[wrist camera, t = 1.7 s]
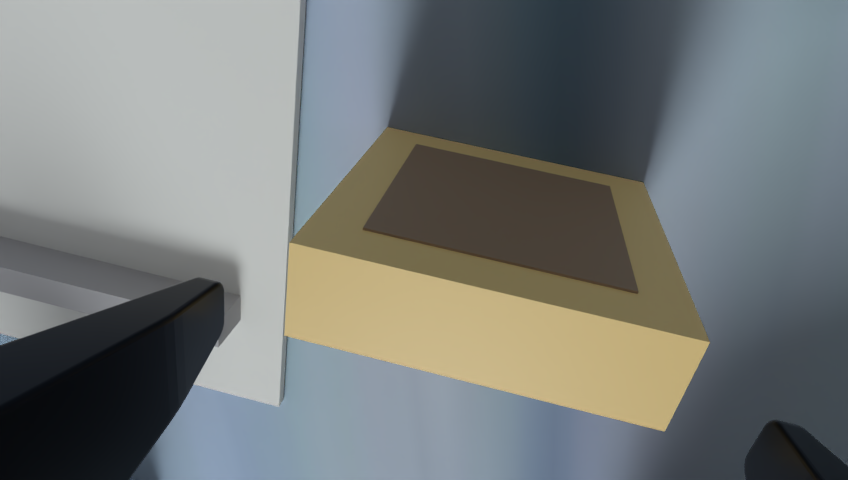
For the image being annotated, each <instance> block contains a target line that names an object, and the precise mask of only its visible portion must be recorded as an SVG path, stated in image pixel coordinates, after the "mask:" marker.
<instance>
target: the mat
mask: <svg viewBox="0 0 848 480" xmlns="http://www.w3.org/2000/svg"><path fill="white" fill-rule="evenodd" d="M305 13H306V0H0V334H4V335H8V336H12V337H15V338H19V339H20V338H23V337H26V336H29V335H32V334H35V333H38V332H40V331H43V330H46V329H49V328H52V327H55V326H58V325H61V324H64V323H66V322H69V321H72V320H75V319H78V318H81V317H84V316H87V315H90V314H93V313H95V312H98V311H101V310H104V309H107V308H110V307H113V306H116V305H119V304H121V303H124V302H127V301H130V300H133V299H136V298H139V297H142V296H145V295H147V294H150V293H153V292H156V291H159V290H162V289H165V288H168V287H171V286H173V285H176V284H179V283H182V282H185V281H188V280H191V279H194V278H197V277H203V278H207V279H211V280H215V281H219V282H220V283H221V284H222V285H223V287H224V327H223V331H222V333H221V336H220V337H219V339H218V341H217V343H216V345H215V346H214V348H213V350H212V352H211V354H210V355H209V357H208V359H207V361H206V363H205V364H204V366H203V368H202V370H201V372H200V373H199V375H198V377H197V379H196V380H195V382H194V385H198V386H202V387H205V388H209V389H213V390H217V391H221V392H224V393H228V394H232V395H236V396H240V397H243V398H247V399H251V400H255V401H259V402H262V403H266V404H270V405H274V406H278V407H279V406H280V404H281V402H282V401H283V397H284V379H285V362H286V344H287V336H284V331H285V312H286V294H287V276H288V258H289V242H290V241H291V240H292V239H293V222H294V205H295V187H296V170H297V152H298V135H299V117H300V100H301V82H302V65H303V47H304V30H305Z"/></svg>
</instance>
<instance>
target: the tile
mask: <svg viewBox="0 0 848 480" xmlns="http://www.w3.org/2000/svg"><path fill="white" fill-rule="evenodd" d="M284 336H288V337H292V338H296V339H300V340H304V341H308V342H312V343H316V344H320V345H324V346H328V347H331V348H335V349H339V350H343V351H347V352H351V353H355V354H359V355H363V356H367V357H371V358H375V359H379V360H383V361H387V362H391V363H395V364H399V365H403V366H407V367H411V368H415V369H419V370H423V371H427V372H430V373H434V374H438V375H442V376H446V377H450V378H454V379H458V380H462V381H466V382H470V383H474V384H478V385H482V386H486V387H490V388H494V389H498V390H502V391H506V392H510V393H514V394H518V395H522V396H526V397H529V398H533V399H537V400H541V401H545V402H549V403H553V404H557V405H561V406H565V407H569V408H573V409H577V410H581V411H585V412H589V413H593V414H597V415H601V416H605V417H609V418H613V419H617V420H621V421H624V422H628V423H632V424H636V425H640V426H644V427H648V428H652V429H656V430H660V431H664V432H665V430H666V428H667V426H668V424H669V422H670V420H671V418H672V416H673V414H674V412H675V410H676V409H677V407H678V405H679V403H680V401H681V399H682V397H683V395H684V393H685V391H686V389H687V387H688V385H689V383H690V381H691V379H692V377H693V375H694V373H695V371H696V369H697V367H698V365H699V363H700V361H701V359H702V357H703V355H704V353H705V351H706V349H707V347H708V345H709V344H710V341H709V339H708V336H707V334H706V332H705V329H704V327H703V324H702V322H701V320H700V317H699V315H698V312H697V310H696V308H695V305H694V303H693V300H692V298H691V296H690V293H689V291H688V288H687V286H686V284H685V281H684V279H683V276H682V274H681V272H680V269H679V267H678V264H677V262H676V259H675V257H674V255H673V252H672V250H671V247H670V245H669V243H668V240H667V238H666V235H665V233H664V231H663V228H662V226H661V223H660V221H659V219H658V216H657V214H656V211H655V209H654V207H653V204H652V202H651V199H650V197H649V195H648V192H647V190H646V187H645V185H644V183H643V182H639V181H634V180H630V179H625V178H620V177H616V176H611V175H607V174H602V173H597V172H593V171H588V170H583V169H579V168H574V167H570V166H565V165H560V164H556V163H551V162H546V161H542V160H537V159H533V158H528V157H523V156H519V155H514V154H509V153H505V152H500V151H496V150H491V149H486V148H482V147H477V146H472V145H468V144H463V143H459V142H454V141H449V140H445V139H440V138H435V137H431V136H426V135H421V134H417V133H412V132H408V131H403V130H398V129H394V128H389V127H387V128H386V129H385V131H384V132H383V133H382V134H381V135H380V137H379V138H378V139H377V140H376V141H375V142H374V144H373V145H372V146H371V147H370V148H369V149H368V151H367V152H366V153H365V154H364V155H363V156H362V158H361V159H360V160H359V161H358V162H357V164H356V165H355V166H354V167H353V168H352V169H351V171H350V172H349V173H348V174H347V175H346V176H345V178H344V179H343V180H342V181H341V182H340V183H339V185H338V186H337V187H336V188H335V189H334V191H333V192H332V193H331V194H330V195H329V196H328V198H327V199H326V200H325V201H324V202H323V203H322V205H321V206H320V207H319V208H318V209H317V211H316V212H315V213H314V214H313V215H312V216H311V218H310V219H309V220H308V221H307V222H306V223H305V225H304V226H303V227H302V228H301V229H300V230H299V232H298V233H297V234H296V235H295V236H294V238H293V239H292V240H291V241H290V242H289V258H288V276H287V294H286V312H285V331H284Z"/></svg>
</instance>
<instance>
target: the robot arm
mask: <svg viewBox="0 0 848 480" xmlns="http://www.w3.org/2000/svg"><path fill="white" fill-rule="evenodd" d="M223 327H224V287H223V285H222V284H221V283H220V282H219V281H215V280H211V279H207V278H203V277H197V278H194V279H191V280H188V281H185V282H182V283H179V284H176V285H173V286H171V287H168V288H165V289H162V290H159V291H156V292H153V293H150V294H147V295H145V296H142V297H139V298H136V299H133V300H130V301H127V302H124V303H121V304H119V305H116V306H113V307H110V308H107V309H104V310H101V311H98V312H95V313H93V314H90V315H87V316H84V317H81V318H78V319H75V320H72V321H69V322H66V323H64V324H61V325H58V326H55V327H52V328H49V329H46V330H43V331H40V332H38V333H35V334H32V335H29V336H26V337H23V338H20V339H17V340H14V341H11V342H9V343H6V344H3V345H0V480H129V479H130V478H131V476H132V475H133V474H134V472H135V471H136V469H137V468H138V467H139V465H140V464H141V462H142V461H143V460H144V458H145V457H146V455H147V454H148V453H149V451H150V450H151V448H152V447H153V446H154V444H155V443H156V441H157V440H158V439H159V437H160V436H161V434H162V433H163V432H164V430H165V429H166V427H167V426H168V425H169V423H170V422H171V420H172V419H173V417H174V416H175V414H176V413H177V411H178V410H179V408H180V407H181V405H182V403H183V402H184V400H185V398H186V397H187V395H188V393H189V391H190V389H191V388H192V386H193V384H194V382H195V380H196V379H197V377H198V375H199V373H200V372H201V370H202V368H203V366H204V364H205V363H206V361H207V359H208V357H209V355H210V354H211V352H212V350H213V348H214V346H215V345H216V343H217V341H218V339H219V337H220V336H221V333H222V331H223ZM745 477H746V480H848V466H847V465H846V464H844V463H843V462H842V461H841V460H840V459H839V458H837V457H836V456H835V455H834V454H833V453H832V452H830V451H829V450H828V449H827V448H826V447H825V446H823V445H822V444H821V443H820V442H819V441H818V440H817V439H815V438H814V437H813V436H812V435H811V434H810V433H808V432H807V431H806V430H805V429H804V428H802V427H800V426H798V425H795V424H791V423H787V422H783V421H779V420H771V421H769V422H768V423H767V424H766V425H765V426H764V428H763V430H762V431H761V433H760V434H759V436H758V438H757V439H756V441H755V443H754V444H753V446H752V447H751V449H750V451H749V452H748V454H747V456H746V459H745Z"/></svg>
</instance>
